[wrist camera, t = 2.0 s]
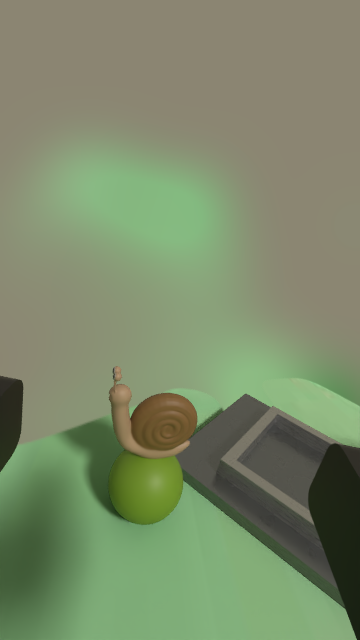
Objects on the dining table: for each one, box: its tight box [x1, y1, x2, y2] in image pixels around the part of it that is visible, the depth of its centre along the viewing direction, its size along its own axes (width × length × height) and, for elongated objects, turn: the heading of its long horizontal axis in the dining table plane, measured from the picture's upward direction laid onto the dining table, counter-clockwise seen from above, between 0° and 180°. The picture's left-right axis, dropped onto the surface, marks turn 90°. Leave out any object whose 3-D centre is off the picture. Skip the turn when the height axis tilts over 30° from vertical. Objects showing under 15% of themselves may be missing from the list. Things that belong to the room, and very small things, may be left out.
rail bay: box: [175, 394, 345, 608], centre depth 30 cm, size 20×16×2 cm
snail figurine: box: [108, 366, 197, 525], centre depth 23 cm, size 5×6×12 cm
